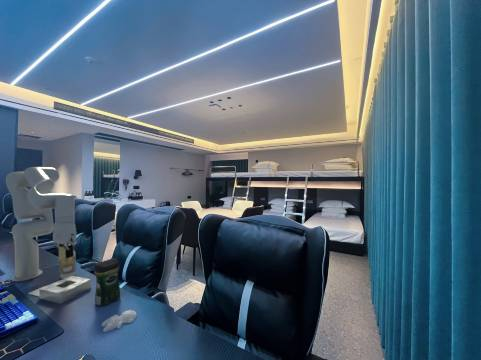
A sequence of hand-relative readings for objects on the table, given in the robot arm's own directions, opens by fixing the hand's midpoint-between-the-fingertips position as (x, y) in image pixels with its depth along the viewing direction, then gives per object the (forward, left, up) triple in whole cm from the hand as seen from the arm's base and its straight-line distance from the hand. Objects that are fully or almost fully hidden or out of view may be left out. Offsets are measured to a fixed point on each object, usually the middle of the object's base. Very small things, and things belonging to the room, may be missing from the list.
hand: (65, 256), depth 104 cm
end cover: (0, 0, -5) cm, 5 cm away
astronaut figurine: (+42, -9, -19) cm, 47 cm away
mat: (-13, -2, -18) cm, 22 cm away
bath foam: (-18, +13, -18) cm, 29 cm away
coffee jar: (+25, +1, -18) cm, 31 cm away
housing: (0, 0, -18) cm, 18 cm away
